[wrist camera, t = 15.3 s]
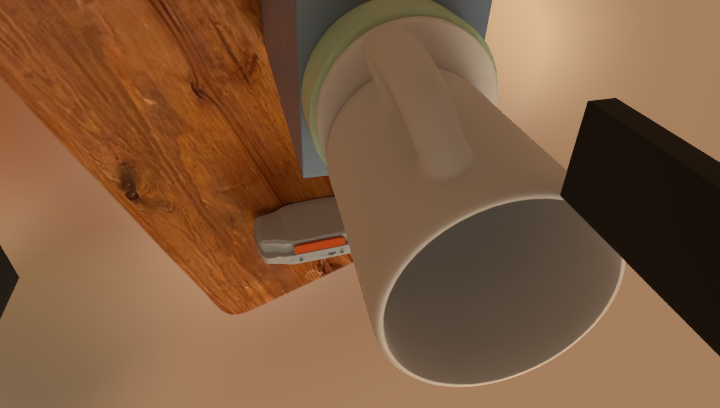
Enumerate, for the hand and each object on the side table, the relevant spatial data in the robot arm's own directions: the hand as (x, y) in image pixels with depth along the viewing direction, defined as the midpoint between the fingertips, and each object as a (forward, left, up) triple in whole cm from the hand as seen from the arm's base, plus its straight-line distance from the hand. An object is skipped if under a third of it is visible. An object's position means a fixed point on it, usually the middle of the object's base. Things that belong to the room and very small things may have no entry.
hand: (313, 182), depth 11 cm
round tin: (+4, +7, -14) cm, 16 cm away
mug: (+4, +6, -11) cm, 13 cm away
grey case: (+29, +6, -38) cm, 49 cm away
